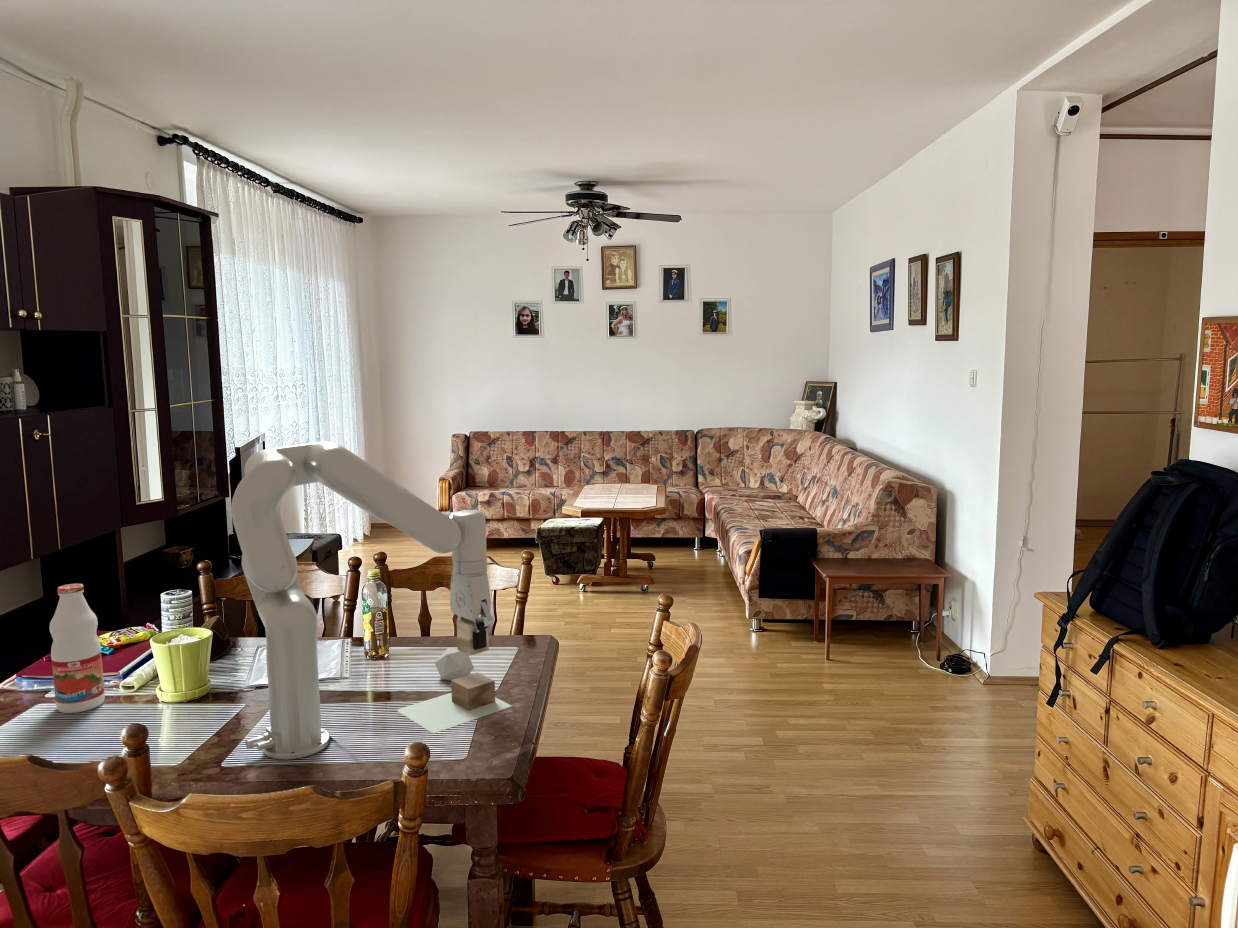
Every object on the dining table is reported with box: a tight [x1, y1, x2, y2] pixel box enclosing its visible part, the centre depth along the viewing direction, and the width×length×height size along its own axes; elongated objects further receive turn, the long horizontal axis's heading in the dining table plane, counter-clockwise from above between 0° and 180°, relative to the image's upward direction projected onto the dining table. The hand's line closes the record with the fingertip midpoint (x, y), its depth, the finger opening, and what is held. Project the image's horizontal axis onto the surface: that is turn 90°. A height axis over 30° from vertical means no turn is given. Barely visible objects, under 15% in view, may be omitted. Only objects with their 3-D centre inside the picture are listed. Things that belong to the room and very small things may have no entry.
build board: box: [395, 692, 512, 735], centre depth 184 cm, size 20×16×1 cm
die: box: [434, 647, 475, 682], centre depth 202 cm, size 8×9×10 cm
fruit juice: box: [49, 583, 106, 714], centre depth 187 cm, size 9×9×28 cm
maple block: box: [456, 618, 490, 657], centre depth 186 cm, size 5×5×7 cm
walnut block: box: [450, 671, 496, 711], centre depth 187 cm, size 7×7×5 cm
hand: (472, 644), depth 186 cm, fingers closed on maple block, 5 cm apart
